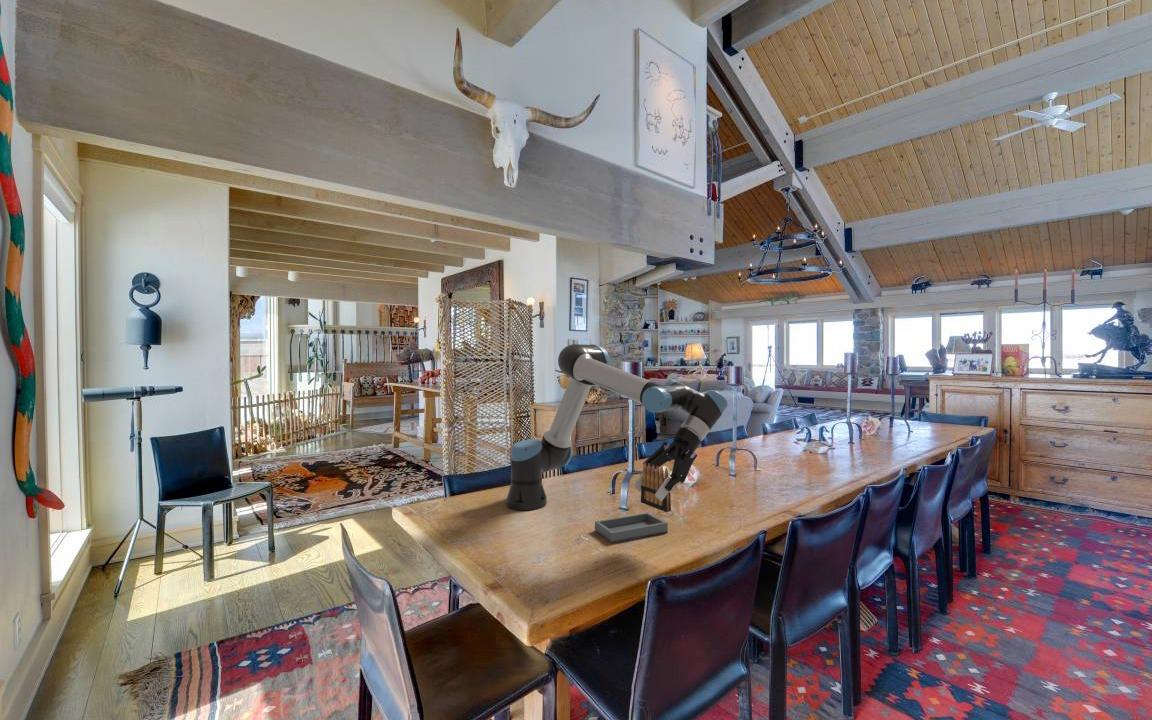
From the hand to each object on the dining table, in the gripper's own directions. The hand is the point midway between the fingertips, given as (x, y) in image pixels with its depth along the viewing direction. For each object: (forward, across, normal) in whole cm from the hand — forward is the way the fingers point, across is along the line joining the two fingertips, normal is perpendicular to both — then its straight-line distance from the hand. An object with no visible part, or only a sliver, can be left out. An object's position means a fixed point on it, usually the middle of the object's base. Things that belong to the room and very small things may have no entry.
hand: (646, 492), depth 131 cm
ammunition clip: (+1, 0, -5) cm, 5 cm away
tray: (+9, +13, -14) cm, 21 cm away
